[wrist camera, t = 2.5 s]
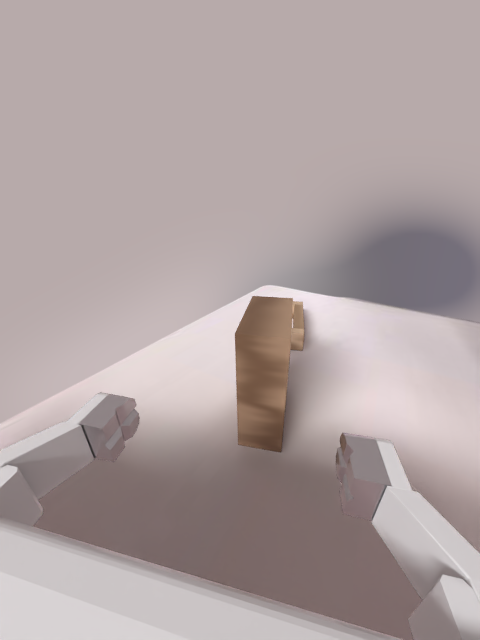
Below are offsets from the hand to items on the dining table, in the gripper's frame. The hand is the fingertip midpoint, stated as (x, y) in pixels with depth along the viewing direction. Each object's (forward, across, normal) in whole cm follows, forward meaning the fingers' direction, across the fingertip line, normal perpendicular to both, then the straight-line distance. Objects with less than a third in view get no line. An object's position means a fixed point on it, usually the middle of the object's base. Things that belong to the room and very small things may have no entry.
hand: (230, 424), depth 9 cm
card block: (+13, 0, +13) cm, 18 cm away
